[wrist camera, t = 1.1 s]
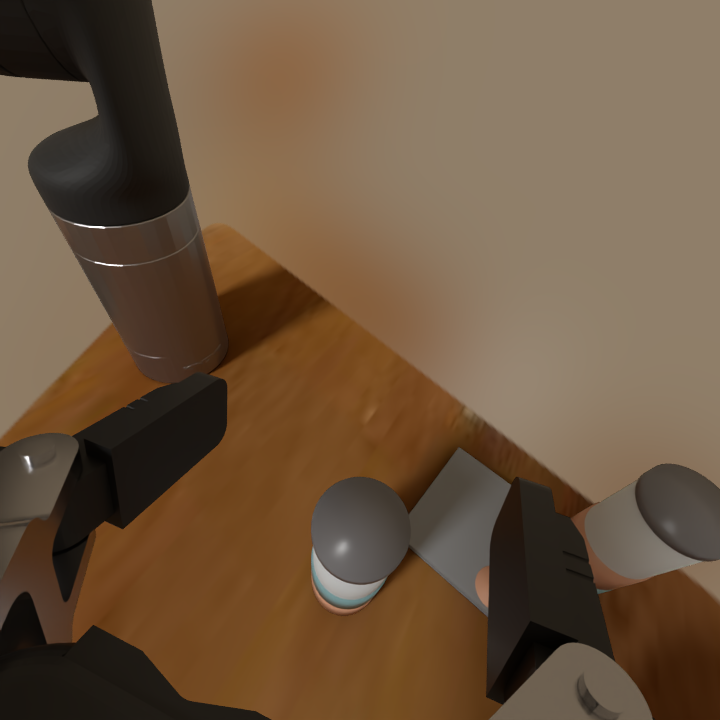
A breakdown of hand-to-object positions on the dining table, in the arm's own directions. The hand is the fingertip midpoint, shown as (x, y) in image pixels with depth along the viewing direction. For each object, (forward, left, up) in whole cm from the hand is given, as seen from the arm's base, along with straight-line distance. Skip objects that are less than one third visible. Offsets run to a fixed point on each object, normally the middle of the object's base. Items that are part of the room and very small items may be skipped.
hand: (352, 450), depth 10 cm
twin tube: (+13, +14, -23) cm, 29 cm away
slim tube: (0, +2, -23) cm, 23 cm away
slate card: (+8, +12, -23) cm, 27 cm away
